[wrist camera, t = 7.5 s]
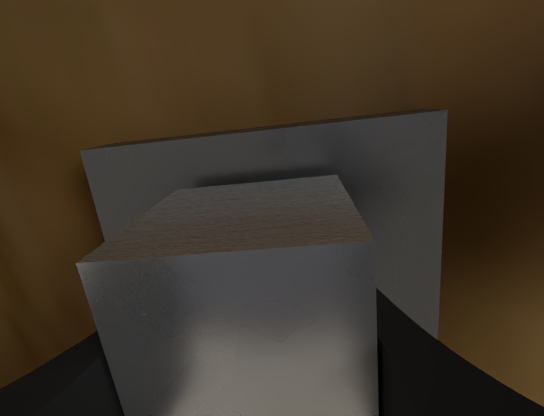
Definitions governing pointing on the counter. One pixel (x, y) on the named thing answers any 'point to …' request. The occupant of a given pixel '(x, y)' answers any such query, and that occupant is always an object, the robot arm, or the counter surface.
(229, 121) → the counter surface
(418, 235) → the stand
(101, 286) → the block
